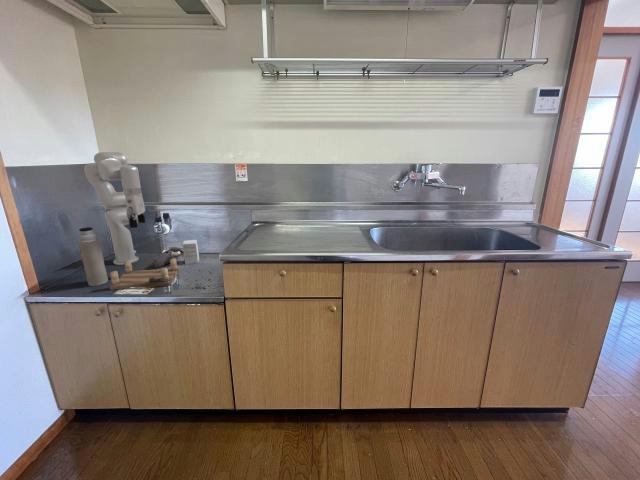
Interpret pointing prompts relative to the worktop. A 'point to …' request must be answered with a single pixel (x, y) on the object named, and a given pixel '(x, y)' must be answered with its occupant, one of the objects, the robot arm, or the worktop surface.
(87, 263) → the thermos bottle
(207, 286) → the worktop surface
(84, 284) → the worktop surface
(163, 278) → the swing leg
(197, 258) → the supplement box
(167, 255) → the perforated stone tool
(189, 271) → the worktop surface
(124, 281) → the stool seat
